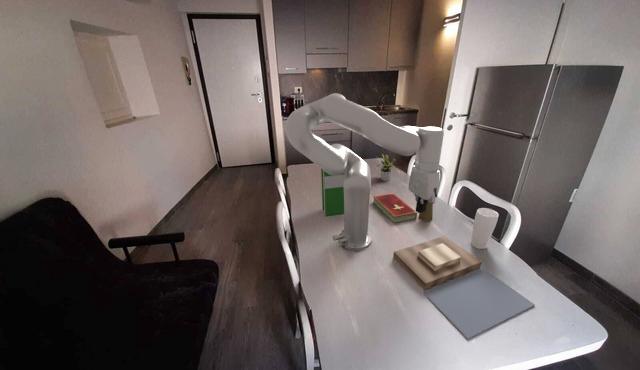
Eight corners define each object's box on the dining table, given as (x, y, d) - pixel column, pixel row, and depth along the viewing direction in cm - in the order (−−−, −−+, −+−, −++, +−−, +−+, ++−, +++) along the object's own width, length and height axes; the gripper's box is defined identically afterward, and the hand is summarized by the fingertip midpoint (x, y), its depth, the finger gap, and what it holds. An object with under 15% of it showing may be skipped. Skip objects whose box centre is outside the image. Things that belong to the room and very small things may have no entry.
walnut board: (424, 290, 78) (425, 283, 76) (393, 258, 91) (393, 251, 90) (479, 268, 85) (481, 261, 84) (443, 242, 99) (444, 235, 97)
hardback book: (325, 216, 119) (324, 170, 109) (322, 209, 126) (320, 164, 116) (360, 212, 122) (362, 166, 112) (355, 205, 128) (357, 161, 118)
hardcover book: (392, 199, 133) (393, 192, 132) (416, 219, 115) (417, 211, 113) (372, 202, 131) (373, 195, 129) (393, 224, 112) (394, 216, 110)
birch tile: (434, 270, 81) (435, 266, 80) (417, 255, 88) (418, 251, 87) (460, 261, 84) (461, 256, 84) (441, 247, 91) (442, 243, 90)
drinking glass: (481, 239, 99) (490, 207, 93) (492, 250, 93) (503, 216, 87) (464, 240, 99) (473, 208, 93) (475, 251, 93) (484, 217, 87)
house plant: (368, 176, 163) (369, 152, 156) (387, 173, 166) (389, 149, 159) (379, 184, 150) (381, 159, 143) (399, 181, 154) (402, 156, 147)
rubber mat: (467, 339, 63) (467, 338, 63) (422, 292, 77) (423, 291, 77) (534, 305, 71) (534, 304, 71) (483, 268, 85) (483, 267, 85)
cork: (423, 222, 112) (427, 200, 107) (415, 215, 117) (418, 194, 113) (435, 219, 113) (439, 198, 109) (426, 213, 119) (430, 192, 114)
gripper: (403, 160, 89) (399, 204, 96) (434, 173, 76) (427, 224, 83) (420, 156, 91) (414, 200, 99) (453, 169, 78) (444, 218, 86)
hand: (420, 211), depth 91 cm, fingers closed
